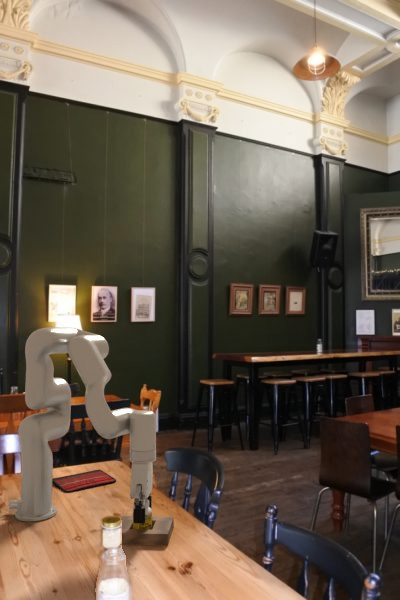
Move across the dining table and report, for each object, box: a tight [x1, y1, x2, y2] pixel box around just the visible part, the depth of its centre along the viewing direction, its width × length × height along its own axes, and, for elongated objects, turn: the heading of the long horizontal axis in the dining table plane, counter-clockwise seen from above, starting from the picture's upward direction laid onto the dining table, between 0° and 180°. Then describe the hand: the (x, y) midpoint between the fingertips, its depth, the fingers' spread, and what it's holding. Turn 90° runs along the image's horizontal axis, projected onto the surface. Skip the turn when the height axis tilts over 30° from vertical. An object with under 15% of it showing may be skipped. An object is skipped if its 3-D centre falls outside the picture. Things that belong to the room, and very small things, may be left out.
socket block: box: [119, 515, 175, 546], centre depth 136 cm, size 16×12×3 cm
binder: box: [52, 469, 117, 494], centre depth 185 cm, size 16×2×21 cm
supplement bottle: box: [133, 499, 153, 530], centre depth 136 cm, size 5×5×10 cm
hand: (142, 516), depth 136 cm, fingers open, 9 cm apart
